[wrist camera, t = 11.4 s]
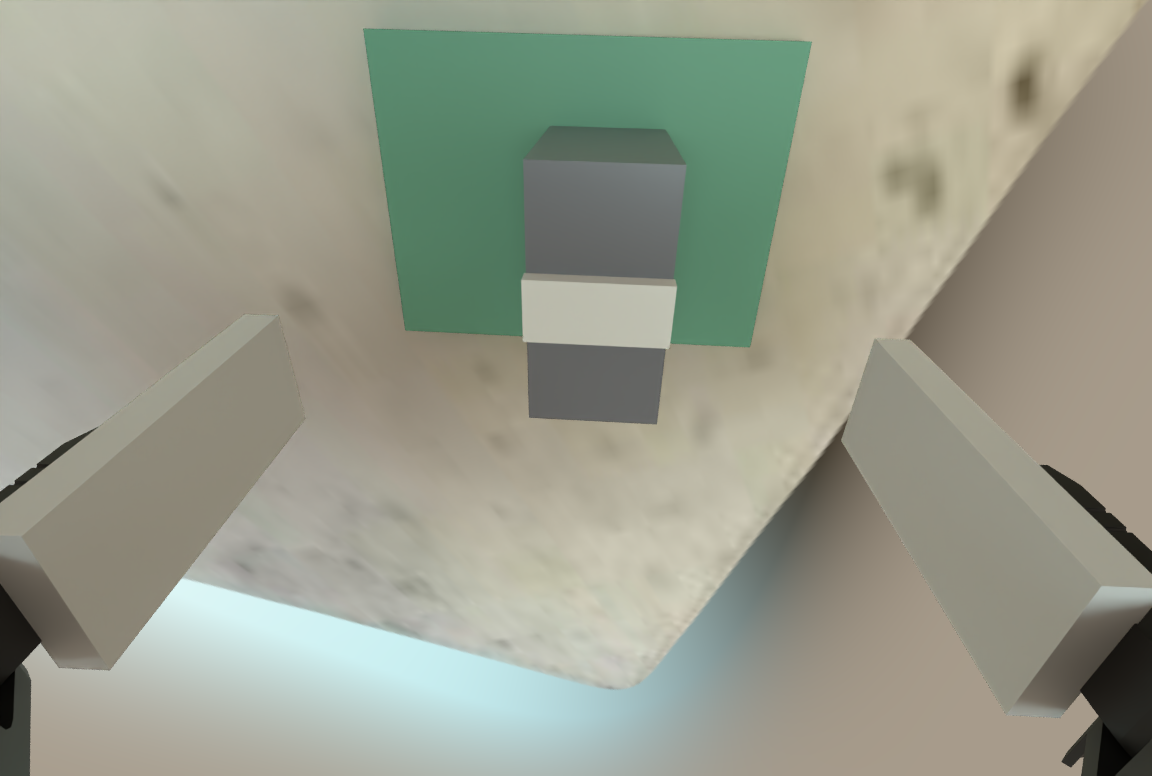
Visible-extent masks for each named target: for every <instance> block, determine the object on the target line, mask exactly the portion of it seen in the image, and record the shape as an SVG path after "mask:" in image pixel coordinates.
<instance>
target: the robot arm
mask: <svg viewBox="0 0 1152 776" xmlns="http://www.w3.org/2000/svg"><path fill="white" fill-rule="evenodd" d="M305 419H306V417H305V414H304V410H303V406H302V402H301V399H300V395H299V391H298V387H297V383H296V380H295V376H294V372H293V368H292V364H291V361H290V357H289V353H288V349H287V346H286V342H285V338H284V334H283V330H282V327H281V323H280V319H279V316H278V315H252V314H244V315H243V316H241V317H240V318H239V319H238V320H236V321H235V322H234V323H232V324H231V325H230V326H229V327H227V328H226V329H225V330H223V331H222V332H221V333H219V334H218V335H217V336H216V337H214V338H213V339H212V340H210V341H209V342H208V343H207V344H205V345H204V346H203V347H201V348H200V349H199V350H198V351H196V352H195V353H194V354H192V355H191V356H190V357H188V358H187V359H186V360H185V361H183V362H182V363H181V364H179V365H178V366H177V367H176V368H174V369H173V370H172V371H170V372H169V373H168V374H166V375H165V376H164V377H163V378H161V379H160V380H159V381H157V382H156V383H155V384H154V385H152V386H151V387H150V388H148V389H147V390H146V391H144V392H143V393H142V394H141V395H139V396H138V397H137V398H135V399H134V400H133V401H132V402H130V403H129V404H128V405H126V406H125V407H124V408H122V409H121V410H120V411H119V412H117V413H116V414H115V415H113V416H112V417H111V418H110V419H108V420H107V421H106V422H104V423H103V424H102V425H100V426H99V427H97V428H95V429H93V430H91V431H89V432H87V433H85V434H83V435H81V436H78V437H76V438H74V439H72V440H70V441H68V442H66V443H64V444H63V445H61V446H60V447H59V448H57V449H56V450H55V451H53V452H52V453H51V454H49V455H48V456H47V457H45V458H44V459H43V460H41V461H40V462H39V463H38V464H37V468H31V469H30V470H28V471H27V472H26V473H24V474H23V475H22V476H20V477H19V478H18V479H16V480H15V484H14V485H8V486H7V487H6V488H4V489H3V490H2V491H0V776H30V713H31V712H30V711H31V679H30V677H29V674H28V671H27V669H26V668H25V667H24V666H23V664H22V662H23V661H24V660H25V659H26V658H27V657H28V656H29V654H30V653H31V652H32V651H33V650H34V649H35V648H36V647H37V646H38V645H39V644H40V643H41V644H42V645H43V647H44V648H45V649H46V651H47V652H48V653H49V655H50V656H51V658H52V659H53V660H54V662H55V663H56V664H57V666H58V667H59V668H72V669H92V670H110V669H111V668H112V667H113V666H114V664H115V663H116V662H117V660H118V659H119V658H120V657H121V655H122V654H123V653H124V651H125V650H126V649H127V648H128V646H129V645H130V644H131V642H132V641H133V640H134V639H135V637H136V636H137V635H138V633H139V632H140V631H141V630H142V628H143V627H144V626H145V624H146V623H147V622H148V621H149V619H150V618H151V617H152V615H153V614H154V613H155V612H156V610H157V609H158V608H159V606H160V605H161V604H162V602H163V601H164V600H165V598H166V597H167V596H168V595H169V593H170V592H171V591H172V590H173V588H174V587H175V586H176V585H177V583H178V582H179V581H180V579H181V578H182V577H183V576H184V574H185V573H186V572H187V570H188V569H189V568H190V567H191V565H192V564H193V563H194V561H195V560H196V559H197V558H198V556H199V555H200V554H201V552H202V551H203V550H204V549H205V547H206V546H207V545H208V543H209V542H210V541H211V539H212V538H213V537H214V536H215V534H216V533H217V532H218V530H219V529H220V528H221V527H222V525H223V524H224V523H225V521H226V520H227V519H228V518H229V516H230V515H231V514H232V512H233V511H234V510H235V509H236V507H237V506H238V505H239V503H240V502H241V501H242V500H243V498H244V497H245V496H246V494H247V493H248V492H249V491H250V489H251V488H252V487H253V485H254V484H255V483H256V482H257V480H258V479H259V478H260V476H261V475H262V474H263V473H264V471H265V470H266V469H267V467H268V466H269V465H270V464H271V462H272V461H273V460H274V458H275V457H276V456H277V455H278V453H279V452H280V451H281V449H282V448H283V447H284V446H285V444H286V443H287V442H288V440H289V439H290V438H291V437H292V435H293V434H294V433H295V431H296V430H297V429H298V428H299V426H300V425H301V424H302V422H303V421H304V420H305ZM841 441H842V443H843V444H844V446H845V447H846V449H847V451H848V453H849V454H850V456H851V458H852V459H853V461H854V463H855V464H856V466H857V467H858V469H859V471H860V472H861V474H862V475H863V478H864V479H865V481H866V482H867V484H868V486H869V488H870V489H871V491H872V492H873V494H874V496H875V497H876V499H877V501H878V502H879V504H880V506H881V508H882V509H883V511H884V513H885V514H886V516H887V517H888V519H889V521H890V522H891V524H892V526H893V528H894V529H895V531H896V532H897V534H898V536H899V538H900V539H901V541H902V543H903V544H904V546H905V548H906V549H907V551H908V553H909V554H910V556H911V557H912V559H913V560H914V562H915V564H916V566H917V567H918V569H919V571H920V572H921V574H922V576H923V578H924V579H925V581H926V582H927V584H928V586H929V587H930V589H931V591H932V593H933V594H934V596H935V597H936V599H937V601H938V603H939V604H940V606H941V608H942V609H943V611H944V613H945V614H946V616H947V617H948V619H949V621H950V623H951V624H952V626H953V627H954V629H955V631H956V633H957V634H958V636H959V638H960V639H961V641H962V643H963V644H964V646H965V647H966V649H967V651H968V652H969V654H970V656H971V658H972V659H973V661H974V663H975V664H976V666H977V667H978V669H979V671H980V672H981V674H982V676H983V678H984V679H985V681H986V683H987V684H988V686H989V688H990V689H991V691H992V692H993V694H994V696H995V698H996V699H997V701H998V702H999V704H1000V706H1001V707H1002V709H1003V711H1004V713H1005V714H1006V715H1013V716H1033V717H1053V718H1060V717H1061V716H1062V715H1063V714H1064V712H1065V711H1066V710H1067V709H1068V708H1069V706H1070V705H1071V704H1072V703H1073V702H1074V700H1075V699H1076V698H1077V697H1078V696H1079V694H1080V693H1082V694H1083V695H1084V697H1085V698H1086V699H1087V701H1088V702H1089V703H1090V705H1091V706H1092V708H1093V709H1094V710H1095V712H1096V713H1097V714H1098V715H1099V717H1098V718H1097V719H1096V720H1095V721H1094V722H1093V723H1092V725H1091V726H1090V727H1089V728H1088V729H1087V730H1086V732H1084V734H1083V735H1082V736H1081V737H1080V738H1079V739H1078V740H1077V742H1076V743H1075V744H1074V745H1073V746H1072V747H1071V748H1070V749H1069V750H1068V752H1067V753H1066V755H1065V757H1064V758H1063V760H1062V762H1063V763H1064V764H1066V765H1067V766H1069V767H1072V765H1074V764H1075V763H1076V761H1077V760H1078V759H1079V758H1081V757H1084V759H1083V767H1082V774H1081V776H1152V551H1151V550H1150V549H1149V548H1148V547H1147V546H1146V545H1145V544H1143V543H1142V542H1141V541H1140V540H1139V539H1138V538H1137V537H1136V536H1135V535H1134V534H1133V533H1127V531H1126V527H1125V526H1124V525H1123V524H1122V523H1121V522H1120V521H1119V520H1118V519H1117V518H1116V517H1114V516H1113V515H1112V514H1111V513H1106V511H1105V507H1104V506H1103V505H1102V504H1100V503H1099V502H1098V501H1097V500H1096V499H1095V498H1094V497H1093V496H1092V495H1091V494H1090V493H1089V492H1088V491H1086V490H1085V489H1084V488H1083V487H1082V486H1081V485H1079V484H1078V483H1076V482H1075V481H1073V480H1071V479H1070V478H1068V477H1066V476H1065V475H1063V474H1061V473H1060V472H1058V471H1056V470H1055V469H1053V468H1051V467H1050V466H1048V465H1039V464H1038V463H1037V462H1035V460H1034V459H1033V458H1031V457H1030V456H1029V455H1028V454H1027V453H1026V452H1025V451H1024V450H1023V449H1022V448H1021V447H1020V446H1019V445H1018V444H1017V443H1016V442H1015V441H1014V440H1013V439H1012V438H1011V437H1010V436H1009V435H1008V434H1007V433H1006V432H1005V431H1003V429H1002V428H1001V427H1000V426H999V425H997V424H996V423H995V422H994V421H993V420H992V419H991V418H990V417H989V416H988V415H987V414H986V413H985V412H984V411H983V410H982V409H981V408H980V407H979V406H978V405H977V404H976V403H975V402H974V401H973V400H972V399H971V398H970V397H969V396H968V395H966V393H965V392H963V391H962V390H961V389H960V388H959V387H958V386H957V385H956V384H955V383H954V382H953V381H952V380H951V379H950V378H949V377H948V376H947V375H946V374H945V373H944V372H943V371H942V370H941V369H940V368H939V367H938V366H937V365H936V364H935V363H934V362H932V360H931V359H929V358H928V357H927V356H926V355H925V354H924V353H923V352H922V351H921V350H920V349H919V348H918V347H917V346H916V345H915V344H914V343H913V342H912V341H911V340H901V339H875V340H874V343H873V346H872V349H871V352H870V355H869V358H868V361H867V364H866V367H865V370H864V373H863V376H862V379H861V382H860V385H859V388H858V391H857V394H856V397H855V400H854V404H853V407H852V410H851V413H850V416H849V419H848V422H847V425H846V428H845V431H844V434H843V437H842V440H841Z"/></svg>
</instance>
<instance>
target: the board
mask: <svg viewBox="0 0 1152 776" xmlns="http://www.w3.org/2000/svg"><path fill="white" fill-rule="evenodd" d="M363 30H364V37H365V44H366V51H367V58H368V66H369V73H370V80H371V87H372V94H373V102H374V109H375V116H376V123H377V130H378V137H379V145H380V152H381V159H382V166H383V173H384V181H385V188H386V195H387V202H388V209H389V216H390V224H391V231H392V238H393V245H394V252H395V260H396V267H397V274H398V281H399V288H400V295H401V303H402V310H403V317H404V324H405V330H407V331H427V332H448V333H468V334H488V335H509V336H523V327H522V290H521V279H522V277H523V274H524V273H526V264H525V220H524V176H523V159H524V158H525V156H526V155H527V154H528V153H529V152H530V150H531V149H532V148H533V147H534V145H535V144H536V143H537V142H538V140H539V139H540V138H541V137H542V135H543V134H544V133H545V132H546V131H547V129H548V128H549V127H550V126H575V127H606V128H637V129H666V131H667V133H668V134H669V136H670V138H671V140H672V141H673V143H674V145H675V146H676V148H677V150H678V151H679V153H680V155H681V156H682V158H683V160H684V161H685V163H686V165H687V166H686V175H685V184H684V192H683V201H682V210H681V218H680V227H679V236H678V244H677V253H676V262H675V271H674V279H675V281H676V285H677V291H676V300H675V308H674V316H673V325H672V333H671V341H670V343H672V344H692V345H712V346H733V347H750V345H751V340H752V335H753V330H754V325H755V320H756V315H757V310H758V305H759V300H760V295H761V290H762V285H763V280H764V276H765V271H766V266H767V261H768V256H769V251H770V246H771V241H772V236H773V231H774V226H775V221H776V216H777V211H778V206H779V201H780V196H781V191H782V186H783V182H784V177H785V172H786V167H787V162H788V157H789V152H790V147H791V142H792V137H793V132H794V127H795V122H796V117H797V112H798V107H799V102H800V97H801V92H802V88H803V83H804V78H805V73H806V68H807V63H808V58H809V53H810V48H811V43H812V42H804V41H770V40H735V39H701V38H667V37H633V36H598V35H564V34H530V33H496V32H461V31H427V30H393V29H363Z"/></svg>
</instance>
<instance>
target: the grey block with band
mask: <svg viewBox="0 0 1152 776" xmlns="http://www.w3.org/2000/svg"><path fill="white" fill-rule="evenodd" d="M686 166H687V165H686V163H685V161H684V160H683V158H682V156H681V155H680V153H679V151H678V150H677V148H676V146H675V145H674V143H673V141H672V140H671V138H670V136H669V134H668V133H667V131H666V129H637V128H606V127H575V126H550V127H549V128H548V129H547V131H546V132H545V133H544V134H543V135H542V137H541V138H540V139H539V140H538V142H537V143H536V144H535V145H534V147H533V148H532V149H531V150H530V152H529V153H528V154H527V155H526V156H525V158H524V159H523V176H524V220H525V264H526V273H524V274H523V277H522V279H521V290H522V327H523V342H527V352H528V396H529V418H546V419H565V420H584V421H603V422H622V423H641V424H657V418H658V409H659V401H660V392H661V383H662V375H663V366H664V357H665V349H670V341H671V333H672V325H673V316H674V308H675V300H676V291H677V285H676V281H675V279H674V271H675V262H676V253H677V244H678V236H679V227H680V218H681V210H682V201H683V192H684V184H685V175H686Z"/></svg>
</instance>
